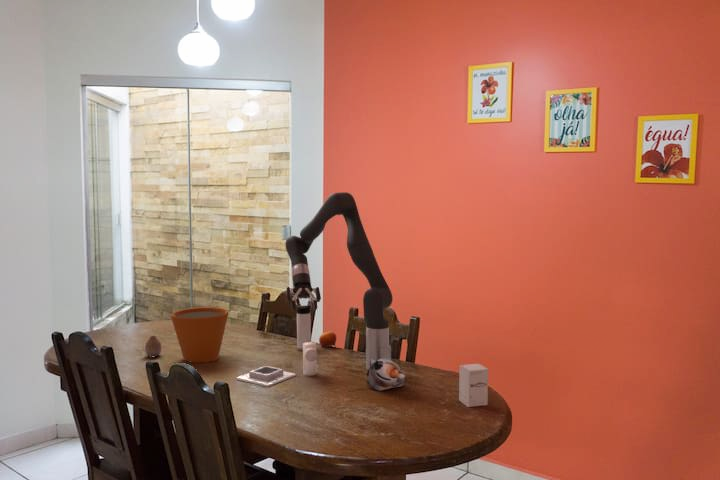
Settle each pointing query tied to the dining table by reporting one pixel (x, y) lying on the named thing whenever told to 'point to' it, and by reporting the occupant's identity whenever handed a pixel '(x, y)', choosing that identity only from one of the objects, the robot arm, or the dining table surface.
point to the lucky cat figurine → (384, 375)
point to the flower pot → (200, 332)
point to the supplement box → (473, 385)
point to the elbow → (309, 358)
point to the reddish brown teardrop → (153, 347)
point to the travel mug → (303, 326)
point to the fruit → (327, 339)
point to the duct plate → (266, 376)
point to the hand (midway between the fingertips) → (304, 310)
